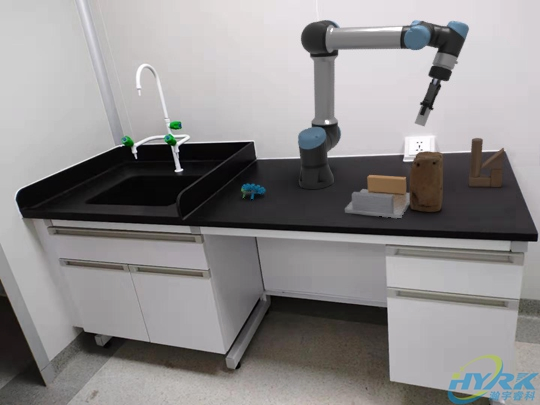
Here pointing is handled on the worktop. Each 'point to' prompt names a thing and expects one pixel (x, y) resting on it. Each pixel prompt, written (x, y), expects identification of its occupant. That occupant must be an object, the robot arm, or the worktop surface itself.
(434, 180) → the block
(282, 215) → the worktop surface
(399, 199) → the base
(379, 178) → the block
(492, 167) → the wooden block structure
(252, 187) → the blue bumpy figure
